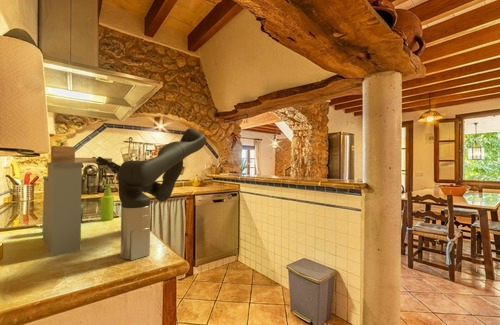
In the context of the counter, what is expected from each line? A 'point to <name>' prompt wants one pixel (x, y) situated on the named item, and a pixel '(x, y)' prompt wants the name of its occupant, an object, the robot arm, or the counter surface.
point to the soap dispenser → (107, 204)
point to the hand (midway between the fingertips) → (94, 158)
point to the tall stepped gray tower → (62, 208)
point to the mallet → (69, 156)
